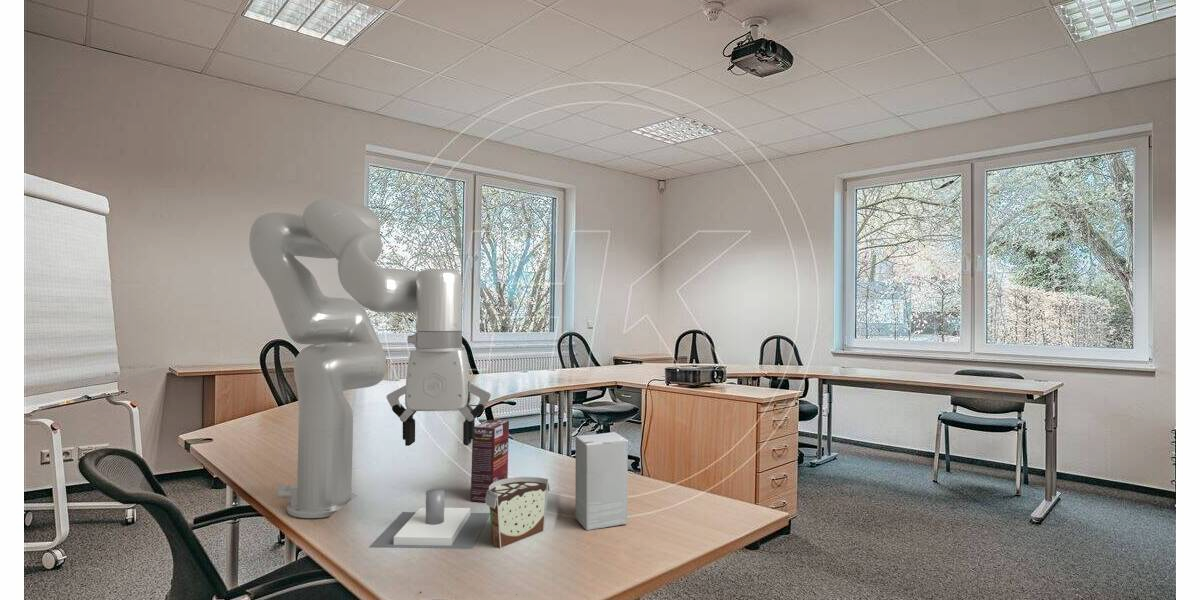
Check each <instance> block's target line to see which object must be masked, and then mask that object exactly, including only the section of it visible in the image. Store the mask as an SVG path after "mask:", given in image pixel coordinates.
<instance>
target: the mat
mask: <svg viewBox="0 0 1200 600" xmlns="http://www.w3.org/2000/svg"><path fill="white" fill-rule="evenodd" d="M416 512H417V511H402V512H401V513H400V514H399V515H398V516H397V518H395V519H394V520H393V521H392V522H391V524H389V526H388V527H386V529H385V530H383V532H382V533H381V534H380V535H379V536H378V537H376V539H375V540H373V542H372V543H371V544H370V545H369V547H368V548H382V549H383V548H389V549H390V548H392V549H397V548H399V549H401V548H402V549H454V550H455V549H458V550H459V549H460V550H461V549H463V550H467V549H468V550H470V549H471V550H473V547H474V546H475V544H476V542H477V540H478V538H479V537H480V534H481V533H482V531H483V529H484V527H485V525H486V524H487V521H488V520H489V518H490V512H470V516H469V518H468V519H467V521H466V523H465V524H464V526H463V527H462V529H461V531H460V532H459V534H458V535H457V537H456V539H455V540H454V542H453V543H452V545H451V546H445V545H394V536H395V535H396V534H397V533H398V532H399V531H400V530H401V528H402V527H403V526H404V525H405V524H406V523H407V522H408V521H409V520H410V519H411V517H412V516H413V515H414V514H415V513H416Z"/></svg>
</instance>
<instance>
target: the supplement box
mask: <svg viewBox="0 0 1200 600" xmlns="http://www.w3.org/2000/svg"><path fill="white" fill-rule="evenodd" d="M509 428H510V420H505V419H504V420H502V419H501V420H500V419H488V420H486V421H484V422H482V423H480V424H478V425H475V436H474V439H471V443H472V445H471V446H472V447H471V470H470V471H471V475H470V476H471V477H470V503H480V504H486V502H485V498H486V494H487V490H488V489H489V486H490V485H491V484H492V483H494V482H496V481H499V480H502V479H507V478H508V476H509V437H510V436H509V435H510V434H509V431H510V429H509Z"/></svg>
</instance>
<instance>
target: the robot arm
mask: <svg viewBox="0 0 1200 600" xmlns="http://www.w3.org/2000/svg"><path fill="white" fill-rule="evenodd" d="M380 232H381V223H380V219H379V217H378V216H377V213H375V212H374V211H373V209H371V208H370V207H368V206H366V205H362V204H357V203H351V202H349V201H348V202H347V201H343V200H342V201H341V200H338V199H331V198H324V199H323V198H322V199H318V200H317V199H316V200H314V201H311V203H309V204H308V205H307V206H306V207H305V208H304V210H303V212H302V214H296V213H290V212H279V211H278V212H270V213H269V212H267V213H264V214H262V215H260V216H259V217H257V218H255V220H254V221H253V223H252V225H251V226H250V232H249V238H248V241H249V243H248V245H249V252H250V255H251V258H252V261H253V264H254V266H255V268H256V269H257V272H258V273H259V275H260V276H261V278H262V279H263V281H264V282H265V284H266V286H267V287H268V289H269V291H270V293H271V295H272V298H273V301H274V304H275V306H276V308H277V311H278V314H279V316H280V319H281V321H282V323H283V325H284V326H283V327H284V328H285V330H286V333H287V335H288V336H289V338H290V339H291V340H292V341H293V342H295V343H297V344H300V345H308V346H307V347H305V348H302V350H301V351H299V353H298V354H297V355H296V357H295V358H294V362H293V373H294V374H293V375H294V381H295V386H296V392H297V400H298V436H297V437H298V438H297V439H298V440H297V446H298V447H297V475H296V476H297V478H296V479H297V480H296V481H297V482H296V484H295V485H290V484H281V485H280V484H279V486H278V488H277V490H276V491H277V498H278V499H285V498H286V499H290V503H288V505H287V510H286V511H287V512H286V513H287V514H288V515H290V516H291V517H295V518H300V519H320V518H330V517H331V516H333V515H334V514H335V513H337V512H338V511H339V510H341V509H342V508H343V507H344V506H346V505H347V504H348V503H350V502H351V501H352V500H354V499H355V498H356V497H358V495H357V494H355V493H354V492H352V489H353V487H352V486H353V484H352V483H353V476H352V475H353V446H354V445H353V443H354V442H353V440H354V414H353V409H352V406H351V405H350V403H349V401H348V399H347V397H346V396H345V394H344V391H345V392H346V391H349V390H356V389H357V390H358V389H364V388H365V389H366V388H370V387H373V386H376V385H378V384H379V383H380V382H382V380H384V377H385V375H386V373H387V370H388V369H387V366H388V365H387V364H388V361H387V357H386V353H385V351H384V349H383V346H382V343H381V341H380V339H379V337H378V335H377V333H376V331H375V328H374V326H373V324H372V321H371V320H370V319H371V318H370V317H369V315H368V313H367V311H366V310H365V309H367V310H369V311H371V312H374V313H403V314H415V331H414V334H412V335H408V336H407V344H412V345H414V348H415V350H410V353H409V357H408V363H407V370H406V380H405V385H403V386H402V387H400V388H398V389H395V390H393V391H392V392H390V393H388V394H387V395H386V400H387V401H388V403H389V405H390V407H391V411H392V412H393V413H394V414H395V416H397V417H398V418H399V421H400V422H402V440H403V441H404V442H405V443H404V444H405V447H409V446H411V445H412V444H414V443H415V442H416V420H415V418H414V415H415V414H416V413H417V412H455V411H459V412H460V413H461V414H462V416H463V417H464V418H465V420H464V421H463V423H462V425H463V426H462V427H463V428H462V435H463V438H462V441H463V442H462V443H463V445H464V446H469V445H470V444H471V443H472V439H474V436H475V426H476V425H475V423H476V422H475V421H476V418H477V417H478V416H479V415H480V414H481V413H482V412H483V411H484V410H485V409H486V406H487V405H488V403H489V401H490V399H491V397H492V394H491V392H488V391H486V390H485V389H483V388H480V387H479V386H477V385H476V384H475V385H474V384H473V383H471V379H470V370H469V369H470V368H469V361H468V355H467V351H466V349H463V348H462V347H463V331H462V330H463V313H462V312H463V287H462V286H463V281H462V280H463V278H462V274H461V273H460V272H459V271H458V270H455V269H448V268H428V269H426V268H425V269H423V270H408V269H404V268H403V269H402V268H401V269H400V268H388V267H381V266H379V265H378V264H376V263H375V262H377V261H378V260H379V258H380V256H381V253H382V251H383V242H382V239H381V236H380ZM296 257H301V258H303V257H304V258H315V259H324V260H325V259H335V260H337V273H338V277H339V282H340V284H341V286H342V288H343V289H344V290H345V292H346V293H347V294H348V295H349V296H350V297H352V298H353V299H351V298H345V297H329V296H327V295H325V294H324V293H323V292H322V290H321V289H320V285H319V283H318V282H317V279H316V277H315V276H314V274H313V273H312V272H311V271H310V269H308V268H307V267H306V266H305V265H304V264H303V263H301V262H300V260H298V259H297V258H296ZM471 395H474V396H476V397H478V398H479V401H478V403H477V404H476V406H475V407H474V408H473V406H471V404H470V402H471ZM402 396H404V404H405V407H406V408H405V407H404V406H403V405H402V403H400V397H402Z"/></svg>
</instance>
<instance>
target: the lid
mask: <svg viewBox="0 0 1200 600" xmlns="http://www.w3.org/2000/svg"><path fill="white" fill-rule="evenodd" d="M445 492H446V490H444V489H443V488H442V489H440V488H432V489H429V490H427V491H426V492H425V507H419V509H417V511H415V512H416V513H415V514H414V515H413V516H412V517H411V519H410V520H409V521H408V522H407V523H406V524H405V525H404V526H403V527H402V528H401V530H400V531H399V532H398V533H397V534H396V535H395V536H394V545H445V546H451V545H452V543H453V542H454V540H455V539H456V537H457V535H458V534H459V532H460V531H461V529H462V527H463V526H464V524H465V523H466V521H467V519H468V518H469V516H470V513H471V509H472V508H471V507H445Z"/></svg>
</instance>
